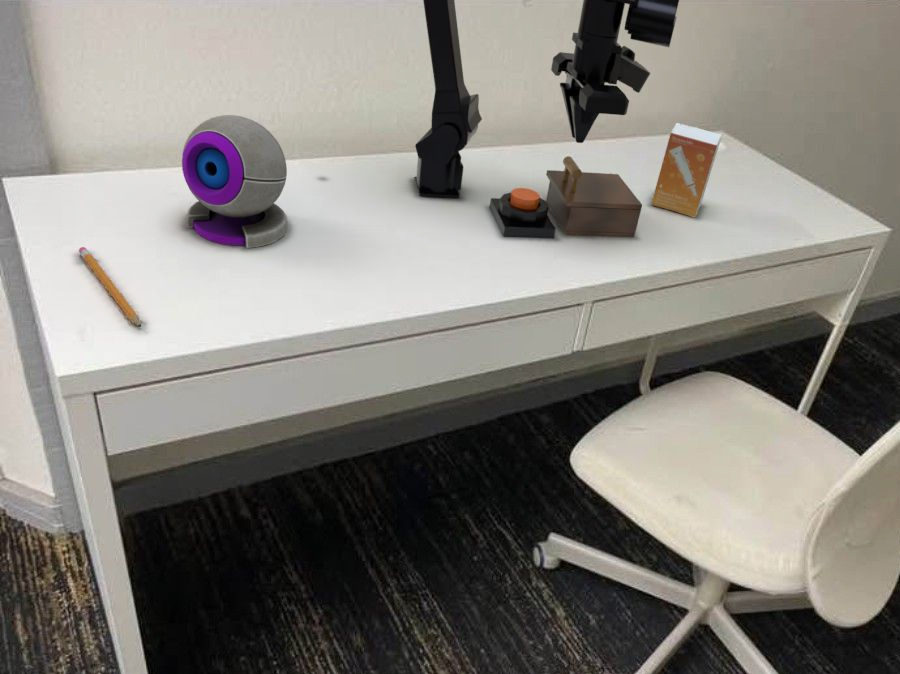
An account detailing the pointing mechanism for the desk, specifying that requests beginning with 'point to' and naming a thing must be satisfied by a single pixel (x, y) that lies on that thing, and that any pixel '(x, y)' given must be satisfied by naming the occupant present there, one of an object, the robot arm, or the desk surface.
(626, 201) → the lid
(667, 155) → the small box
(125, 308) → the pencil
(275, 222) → the webcam
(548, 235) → the panel
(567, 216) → the storage box
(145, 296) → the desk surface
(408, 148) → the desk surface
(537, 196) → the release button
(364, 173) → the desk surface
